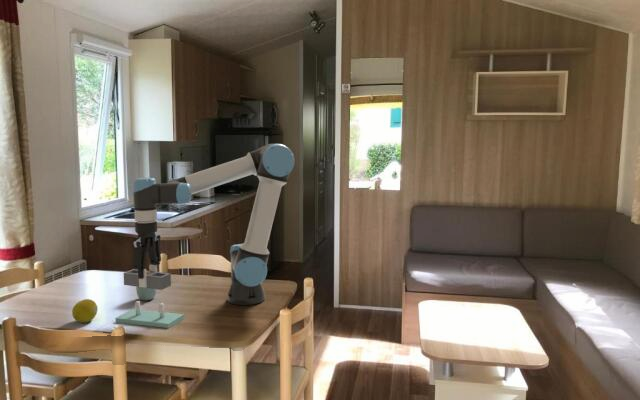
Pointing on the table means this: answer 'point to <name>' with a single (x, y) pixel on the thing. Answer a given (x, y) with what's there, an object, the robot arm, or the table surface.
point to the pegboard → (150, 317)
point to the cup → (145, 293)
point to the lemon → (84, 310)
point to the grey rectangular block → (148, 279)
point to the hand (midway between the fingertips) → (148, 284)
